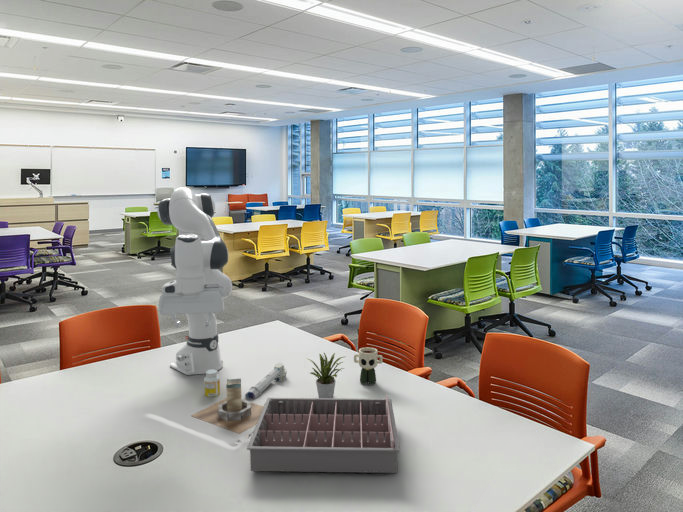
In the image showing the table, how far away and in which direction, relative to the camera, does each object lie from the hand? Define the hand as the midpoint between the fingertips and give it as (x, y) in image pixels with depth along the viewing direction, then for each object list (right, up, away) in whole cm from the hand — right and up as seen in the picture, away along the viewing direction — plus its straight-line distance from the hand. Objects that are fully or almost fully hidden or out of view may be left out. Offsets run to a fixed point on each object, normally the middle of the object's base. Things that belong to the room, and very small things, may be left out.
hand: (193, 326), depth 164 cm
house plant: (+44, -28, +17) cm, 55 cm away
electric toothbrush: (+21, -27, +25) cm, 42 cm away
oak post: (+13, -29, +2) cm, 32 cm away
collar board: (+13, -30, +2) cm, 33 cm away
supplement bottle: (+2, -28, +18) cm, 33 cm away
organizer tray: (+44, -33, -16) cm, 57 cm away
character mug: (+58, -26, +30) cm, 71 cm away
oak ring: (+10, -28, +10) cm, 31 cm away
